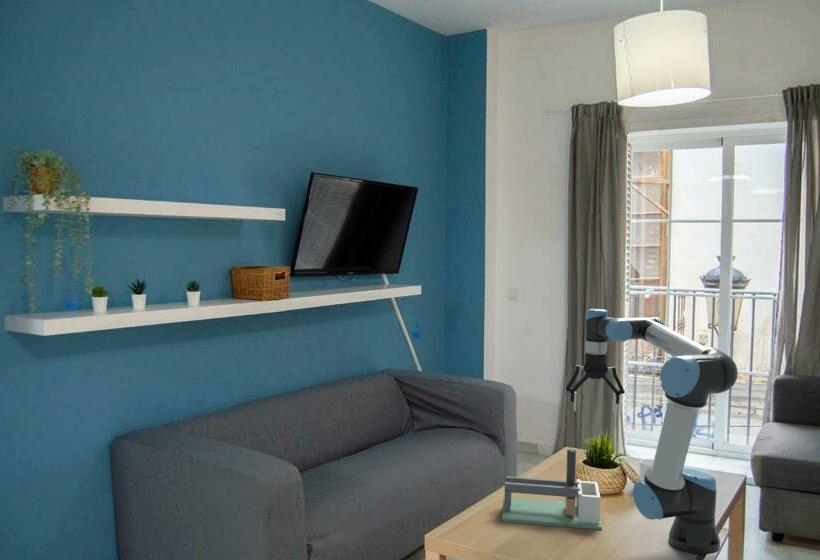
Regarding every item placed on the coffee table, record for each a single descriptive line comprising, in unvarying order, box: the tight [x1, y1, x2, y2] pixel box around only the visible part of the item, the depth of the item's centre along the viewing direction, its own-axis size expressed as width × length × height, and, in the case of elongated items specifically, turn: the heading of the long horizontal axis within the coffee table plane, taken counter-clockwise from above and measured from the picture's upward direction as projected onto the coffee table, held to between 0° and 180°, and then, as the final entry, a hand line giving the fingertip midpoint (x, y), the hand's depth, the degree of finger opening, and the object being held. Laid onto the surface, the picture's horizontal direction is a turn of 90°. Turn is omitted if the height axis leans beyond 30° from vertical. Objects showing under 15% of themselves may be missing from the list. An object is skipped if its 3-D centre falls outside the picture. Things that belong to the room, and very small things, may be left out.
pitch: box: [501, 475, 603, 530], centre depth 248 cm, size 20×33×11 cm, turn 79°
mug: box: [639, 458, 654, 481], centre depth 275 cm, size 12×8×10 cm
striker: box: [564, 449, 577, 516], centre depth 246 cm, size 10×3×21 cm, turn 169°
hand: (594, 411), depth 253 cm, fingers open, 13 cm apart
